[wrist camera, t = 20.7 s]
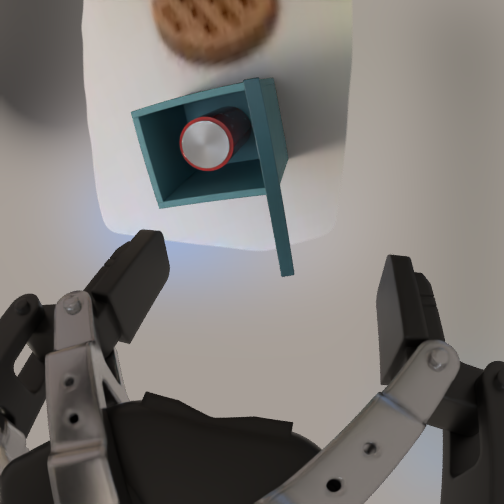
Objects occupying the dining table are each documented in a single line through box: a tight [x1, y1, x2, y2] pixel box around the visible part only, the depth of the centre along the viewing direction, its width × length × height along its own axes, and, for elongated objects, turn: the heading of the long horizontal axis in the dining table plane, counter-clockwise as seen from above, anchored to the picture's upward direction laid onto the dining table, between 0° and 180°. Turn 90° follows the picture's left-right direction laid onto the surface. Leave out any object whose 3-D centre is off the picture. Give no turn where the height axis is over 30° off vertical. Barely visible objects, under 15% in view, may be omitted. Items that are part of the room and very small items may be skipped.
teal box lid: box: [243, 78, 294, 277], centre depth 23 cm, size 14×12×1 cm
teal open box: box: [131, 78, 288, 209], centre depth 37 cm, size 14×12×13 cm
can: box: [179, 106, 251, 171], centre depth 38 cm, size 6×6×10 cm
